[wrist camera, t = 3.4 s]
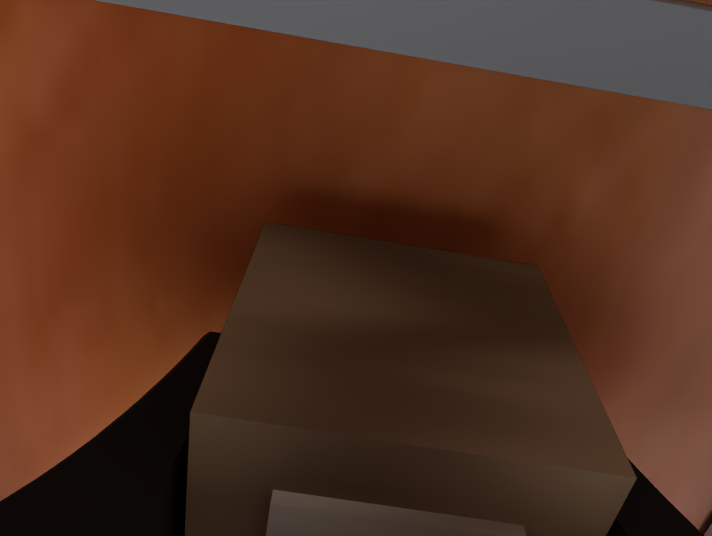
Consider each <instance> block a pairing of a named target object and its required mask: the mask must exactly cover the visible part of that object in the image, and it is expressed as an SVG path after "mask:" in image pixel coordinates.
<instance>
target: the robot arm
mask: <svg viewBox="0 0 712 536" xmlns="http://www.w3.org/2000/svg"><path fill="white" fill-rule="evenodd" d="M220 336H221V333H217V332H209V333H207V334H206V335H204V336H203V337H202V338H201V339H200V340H199V342H198V343H197V344H196V345H195V346H194V347H193V348H192V349H191V350H190V351H189V352H188V353H187V354H186V355H185V356H184V358H183V359H182V360H181V361H180V362H179V363H178V364H177V365H176V366H175V367H174V368H173V369H172V370H171V371H170V372H169V373H167V374H166V375H165V376H164V377H163V378H162V379H161V380H160V381H159V382H158V383H157V384H156V385H155V386H154V387H153V388H151V389H150V390H149V391H148V392H147V393H146V394H145V395H144V396H143V397H142V398H141V399H139V400H138V401H137V402H136V403H135V404H134V405H133V406H132V407H130V408H129V409H128V410H127V411H126V412H124V413H123V414H122V415H121V416H120V417H118V418H117V419H116V420H115V421H113V422H112V423H111V424H110V425H109V426H107V427H106V428H105V429H104V430H102V431H101V432H100V433H99V434H98V435H96V436H95V437H94V438H93V439H91V440H90V441H89V442H87V443H86V444H85V445H83V446H82V447H81V448H79V449H78V450H77V451H75V452H74V453H73V454H71V455H70V456H68V457H67V458H66V459H64V460H63V461H61V462H60V463H59V464H57V465H56V466H54V467H53V468H51V469H50V470H48V471H47V472H46V473H44V474H43V475H41V476H40V477H38V478H37V479H35V480H34V481H32V482H30V483H29V484H27V485H26V486H24V487H23V488H21V489H19V490H18V491H16V492H15V493H13V494H11V495H10V496H8V497H7V498H5V499H3V500H2V501H0V536H185V515H186V494H187V472H188V450H189V428H190V411H191V409H192V406H193V404H194V401H195V399H196V396H197V394H198V391H199V389H200V386H201V384H202V381H203V379H204V376H205V374H206V371H207V368H208V366H209V363H210V361H211V358H212V356H213V353H214V351H215V348H216V346H217V343H218V341H219V338H220ZM628 460H629V459H628ZM629 462H630V465H631V467H632V469H633V471H634V473H635V475H636V477H637V479H636V481H635V483H634V484H633V486H632V488H631V490H630V492H629V494H628V496H627V498H626V499H625V501H624V503H623V505H622V507H621V509H620V511H619V512H618V514H617V516H616V518H615V520H614V522H613V524H612V525H611V527H610V529H609V531H608V533H607V535H606V536H712V524H711V525H710V527H709V528H708V530H707V531H706V533H705V534H704V535H703V534H702V533H701V532H700V531H699V530H698V529H697V528H696V527H695V526H694V525H693V524H692V523H691V522H690V521H689V520H687V519H686V518H685V517H684V516H683V515H682V514H681V513H680V512H679V511H678V510H677V509H676V508H675V507H674V506H673V505H672V504H671V503H670V502H669V501H668V500H667V499H666V498H665V497H664V496H663V495H662V494H661V493H660V492H659V491H658V490H657V489H656V488H655V487H654V485H653V484H652V483H651V482H650V481H649V480H648V479H647V478H646V477H645V476H644V475H643V474H642V473H641V472H640V471H639V470H638V469H637V468H636V466H635V465H634V464H633V463H632V462H631V461H630V460H629Z"/></svg>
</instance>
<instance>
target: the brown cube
mask: <svg viewBox="0 0 712 536" xmlns="http://www.w3.org/2000/svg"><path fill="white" fill-rule="evenodd" d="M636 479H637V477H636V475H635V473H634V471H633V469H632V467H631V465H630V462H629V460H628V458H627V456H626V454H625V452H624V450H623V447H622V445H621V443H620V441H619V439H618V437H617V435H616V432H615V430H614V428H613V426H612V424H611V422H610V420H609V418H608V415H607V413H606V411H605V409H604V407H603V405H602V403H601V400H600V398H599V396H598V394H597V392H596V390H595V388H594V385H593V383H592V381H591V379H590V377H589V375H588V373H587V371H586V368H585V366H584V364H583V362H582V360H581V358H580V356H579V353H578V351H577V349H576V347H575V345H574V343H573V341H572V338H571V336H570V334H569V332H568V330H567V328H566V326H565V324H564V321H563V319H562V317H561V315H560V313H559V311H558V309H557V306H556V304H555V302H554V300H553V298H552V296H551V294H550V291H549V289H548V287H547V285H546V283H545V281H544V279H543V276H542V274H541V272H540V270H539V268H538V266H534V265H528V264H522V263H516V262H510V261H504V260H498V259H491V258H485V257H479V256H473V255H467V254H461V253H455V252H449V251H442V250H436V249H430V248H424V247H418V246H412V245H406V244H400V243H393V242H387V241H381V240H375V239H369V238H363V237H357V236H351V235H344V234H338V233H332V232H326V231H320V230H314V229H308V228H302V227H295V226H289V225H283V224H277V223H271V222H265V224H264V227H263V230H262V232H261V235H260V237H259V240H258V242H257V245H256V247H255V250H254V252H253V255H252V257H251V260H250V262H249V265H248V267H247V270H246V272H245V275H244V278H243V280H242V283H241V285H240V288H239V290H238V293H237V295H236V298H235V300H234V303H233V305H232V308H231V310H230V313H229V315H228V318H227V320H226V323H225V326H224V328H223V331H222V333H221V336H220V338H219V341H218V343H217V346H216V348H215V351H214V353H213V356H212V358H211V361H210V363H209V366H208V368H207V371H206V374H205V376H204V379H203V381H202V384H201V386H200V389H199V391H198V394H197V396H196V399H195V401H194V404H193V406H192V409H191V411H190V428H189V450H188V472H187V494H186V515H185V536H606V535H607V533H608V531H609V529H610V527H611V525H612V524H613V522H614V520H615V518H616V516H617V514H618V512H619V511H620V509H621V507H622V505H623V503H624V501H625V499H626V498H627V496H628V494H629V492H630V490H631V488H632V486H633V484H634V483H635V481H636Z"/></svg>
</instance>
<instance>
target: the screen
mask: <svg viewBox="0 0 712 536" xmlns="http://www.w3.org/2000/svg"><path fill="white" fill-rule="evenodd" d="M97 1H102V2H108V3H114V4H119V5H125V6H131V7H136V8H142V9H147V10H153V11H159V12H164V13H170V14H176V15H181V16H187V17H193V18H198V19H204V20H210V21H215V22H221V23H226V24H232V25H238V26H243V27H249V28H255V29H260V30H266V31H272V32H277V33H283V34H289V35H294V36H300V37H305V38H311V39H317V40H322V41H328V42H334V43H339V44H345V45H351V46H356V47H362V48H368V49H373V50H379V51H384V52H390V53H396V54H401V55H407V56H413V57H418V58H424V59H430V60H435V61H441V62H447V63H452V64H458V65H463V66H469V67H475V68H480V69H486V70H492V71H497V72H503V73H509V74H514V75H520V76H526V77H531V78H537V79H542V80H548V81H554V82H559V83H565V84H571V85H576V86H582V87H588V88H593V89H599V90H605V91H610V92H616V93H622V94H627V95H633V96H638V97H644V98H650V99H655V100H661V101H667V102H672V103H678V104H684V105H689V106H695V107H701V108H706V109H712V5H706V4H701V3H695V2H690V1H685V0H97Z"/></svg>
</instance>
